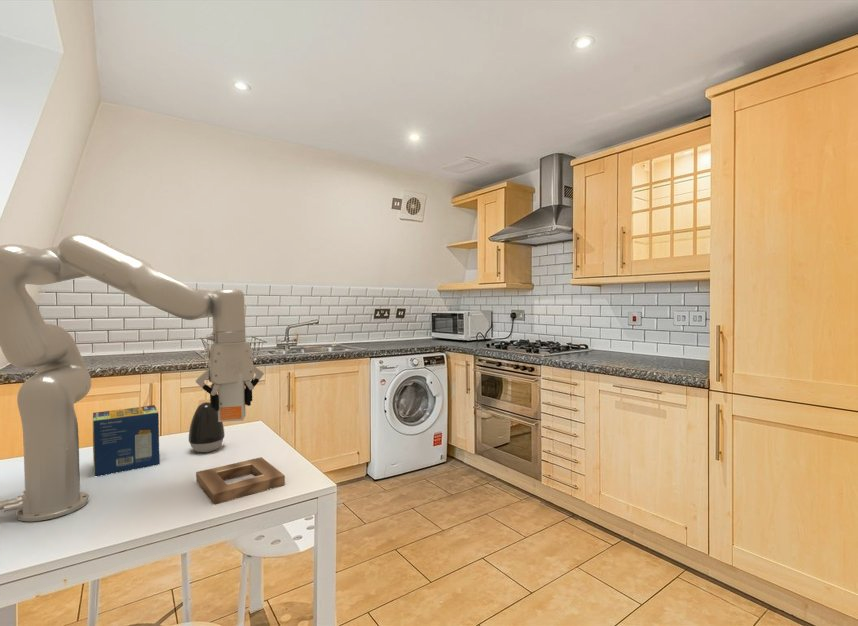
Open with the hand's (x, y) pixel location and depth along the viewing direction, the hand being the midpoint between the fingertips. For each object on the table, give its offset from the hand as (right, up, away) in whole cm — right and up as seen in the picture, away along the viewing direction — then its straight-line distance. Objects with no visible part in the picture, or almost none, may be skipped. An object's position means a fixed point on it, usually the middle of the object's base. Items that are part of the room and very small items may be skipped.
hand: (232, 406), depth 113 cm
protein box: (-37, -20, +15) cm, 44 cm away
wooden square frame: (+1, -20, +2) cm, 20 cm away
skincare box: (0, -3, 0) cm, 3 cm away
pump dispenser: (-20, -20, +27) cm, 39 cm away
